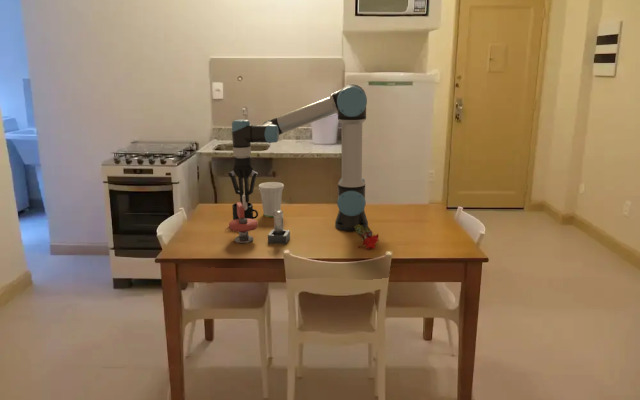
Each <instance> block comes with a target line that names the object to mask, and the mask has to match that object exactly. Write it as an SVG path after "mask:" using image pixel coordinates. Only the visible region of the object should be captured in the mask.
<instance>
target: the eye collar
mask: <svg viewBox="0 0 640 400" xmlns="http://www.w3.org/2000/svg"><path fill="white" fill-rule="evenodd" d="M290 238H291V232H290V230H289V229H284V235H274V228H273V229H271V230H270V232H269V233H268V234H267V243H268V244H277V245H278V244H279V245H280V244H281V245H286V244H287V243H288V242H289V240H290Z"/></svg>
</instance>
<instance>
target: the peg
mask: <svg viewBox="0 0 640 400" xmlns="http://www.w3.org/2000/svg"><path fill="white" fill-rule="evenodd" d="M273 229H274V235H284V230H285V229H284V210H276V211H274V217H273Z"/></svg>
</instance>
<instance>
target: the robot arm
mask: <svg viewBox="0 0 640 400" xmlns="http://www.w3.org/2000/svg"><path fill="white" fill-rule="evenodd" d="M367 98H368V97H367V94H366V92H365V90H364V89H363V87H361V86H360V85H358V84H347V85H345V86H344V87H342V88H341V89H339V90H337V91H335V92H332V93H330V96H328V97H326V98H323V99H321V100H318V101H316V102H313V103H310V104H308V105H305V106H303V107H299V108H298V109H295V110H292V111H289V112H287V113H285V114H283V115H280V116H277V117H275V118H272V119H267V120H266V121H264V122H263V123H262V124H251V123H250V122H251V121H250V120H249V119H235V120H232V123H231V135H232V136H231V137H232V156H233V168H232V171H230V172H228V173H227V174H228V176H229V178H230V181H231V182H232V186H233V190H234V192H235V194H236V195H239V201H240V202H242V203H243V208H244V210H247V203H250V195H252V194H253V193H254V189H255V185H256V179H257V176H258V175H259V172H258V171H255V170H254V169H253V166H252V163H253V162H252V157H251V156H252V148H251V147H252V146H251V144H252V143H261V144H262V143H264V144H266V143H267V144H271V143H278V142H279V137H280V135H282V134H285V133H288V132H291V131H293V130H295V129H298V128H301V127H304V126H306V125H309V124H312V123H314V122H316V121H317V122H318V121H320V120H322V119H325V118H327V117H331V116H332V115H336V114H337V120H338V121H339V122H340V124H341V177H340V179H339V180H338V182H337V200H336V205H337V208H338V212H337V216H336V218H335V225H334V226H335V227H334V228H335V229H338V230H339V231H343V232H354V233H355V232H356V230H355V228H354V226H357V225H359V224H360V225H362V226H363V227H364V229H366V228H365V227H367V228H369V223H368V219H367V218H368V217H367V215H366V212H365V207H366V181H365V179H364V178H363V176H362V175H363V173H362V172H363V167H362V166H363V123H364V122H365V121H366V120H367V104H368V100H367ZM236 176H237V178H238V179H237V178H236ZM250 176H252V177H251V181H250V182H249V180H250ZM249 183H250V185H249Z"/></svg>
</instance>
